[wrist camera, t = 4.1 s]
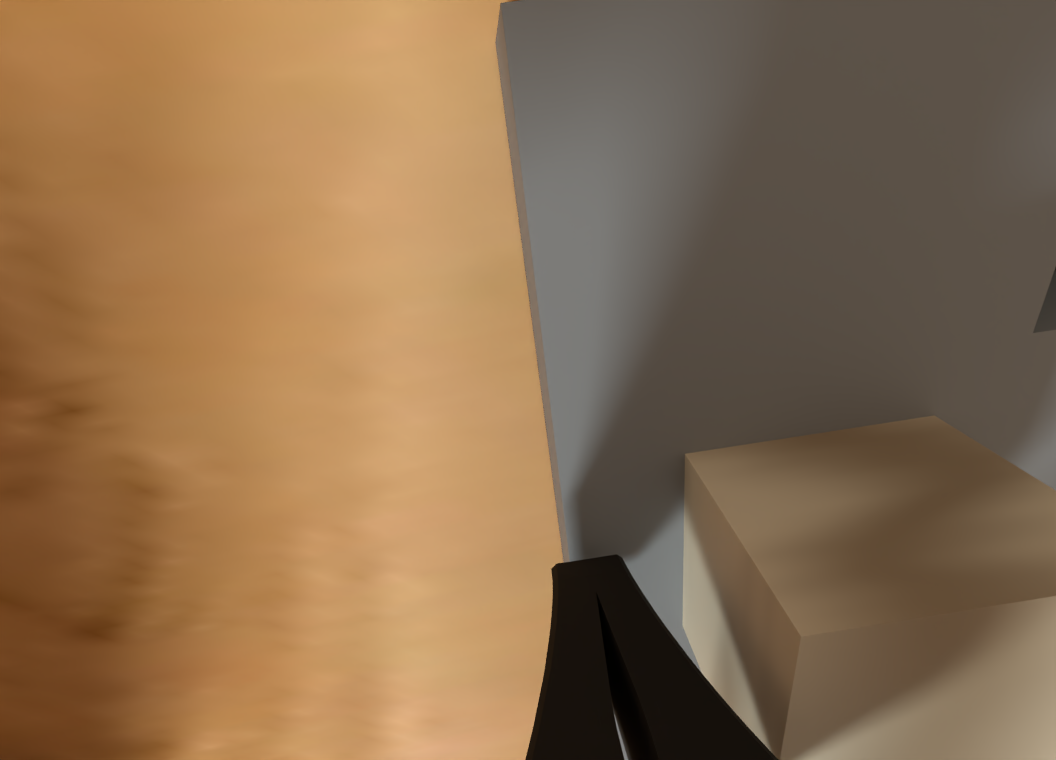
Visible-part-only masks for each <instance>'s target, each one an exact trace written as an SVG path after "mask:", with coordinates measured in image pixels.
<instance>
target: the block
mask: <svg viewBox="0 0 1056 760" xmlns="http://www.w3.org/2000/svg"><path fill="white" fill-rule="evenodd" d="M683 628H684V630H685V633H686V635H687V638H688V640H689V643H690V645H691V648H692V650H693V652H694V655H695V657H696V660H697V662H698V665H699V667H700V670H701V672H702V674H703V675H704V676H705V678H706V679H707V680H708V681H709V682H710V684H711V685H712V686H713V687H714V688H715V690H716V691H717V692H718V693H719V694H720V696H721V697H722V698H723V699H724V700H725V701H726V703H727V704H728V705H729V706H730V707H731V708H732V709H733V711H734V712H735V713H736V714H737V715H738V716H739V717H740V719H741V720H742V721H743V722H744V723H745V724H746V725H747V726H748V728H749V729H750V730H751V731H752V732H753V733H754V734H755V735H756V736H757V737H758V738H759V739H760V740H761V742H762V743H763V744H764V745H765V746H766V747H767V748H768V749H769V750H770V751H771V752H772V753H773V754H774V755H775V757H776V758H777V759H778V760H1056V490H1054V489H1052V488H1051V487H1049V486H1048V485H1046V484H1044V483H1043V482H1041V481H1040V480H1038V479H1036V478H1035V477H1033V476H1031V475H1030V474H1028V473H1027V472H1025V471H1023V470H1022V469H1020V468H1019V467H1017V466H1015V465H1014V464H1012V463H1010V462H1009V461H1007V460H1006V459H1004V458H1002V457H1001V456H999V455H997V454H996V453H994V452H993V451H991V450H989V449H988V448H986V447H985V446H983V445H981V444H980V443H978V442H976V441H975V440H973V439H972V438H970V437H968V436H967V435H965V434H964V433H962V432H960V431H959V430H957V429H955V428H954V427H952V426H951V425H949V424H947V423H946V422H944V421H943V420H941V419H939V418H938V417H936V416H928V417H921V418H915V419H908V420H902V421H895V422H889V423H882V424H876V425H869V426H863V427H856V428H850V429H843V430H837V431H830V432H824V433H817V434H811V435H804V436H798V437H791V438H785V439H778V440H772V441H765V442H759V443H752V444H746V445H739V446H733V447H726V448H720V449H713V450H707V451H700V452H694V453H687V454H685V484H684V556H683Z"/></svg>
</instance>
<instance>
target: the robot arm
mask: <svg viewBox="0 0 1056 760" xmlns="http://www.w3.org/2000/svg"><path fill="white" fill-rule="evenodd" d="M552 578H553V604H552V617H551V629H550V636H549V644H548V651H547V658H546V665H545V671H544V677H543V682H542V687H541V692H540V697H539V702H538V707H537V712H536V717H535V722H534V726H533V731H532V735H531V739H530V743H529V748H528V752H527V756H526V760H624V756H623V752H622V748H621V744H620V739H619V735H618V731H617V727H616V721H617V724H618V728H619V731H620V734H621V738H622V741H623V744H624V748H625V751H626V754H627V758H628V760H778V759H777V758H776V757H775V755H774V754H773V753H772V752H771V751H770V750H769V749H768V748H767V747H766V746H765V745H764V744H763V743H762V742H761V740H760V739H759V738H758V737H757V736H756V735H755V734H754V733H753V732H752V731H751V730H750V729H749V728H748V726H747V725H746V724H745V723H744V722H743V721H742V720H741V719H740V717H739V716H738V715H737V714H736V713H735V712H734V711H733V709H732V708H731V707H730V706H729V705H728V704H727V703H726V701H725V700H724V699H723V698H722V697H721V696H720V694H719V693H718V692H717V691H716V690H715V688H714V687H713V686H712V685H711V684H710V682H709V681H708V680H707V679H706V678H705V676H704V675H703V674H702V673H701V672H700V670H699V669H698V668H697V666H696V665H695V664H694V663H693V661H692V660H691V659H690V658H689V656H688V655H687V654H686V652H685V651H684V650H683V648H682V647H681V646H680V644H679V643H678V642H677V641H676V639H675V638H674V637H673V635H672V634H671V633H670V631H669V630H668V629H667V627H666V626H665V624H664V623H663V622H662V620H661V619H660V617H659V616H658V615H657V613H656V612H655V610H654V609H653V607H652V606H651V604H650V603H649V601H648V600H647V598H646V597H645V595H644V594H643V592H642V591H641V589H640V588H639V586H638V584H637V583H636V581H635V580H634V578H633V576H632V574H631V573H630V571H629V569H628V568H627V566H626V564H625V562H624V560H623V558H622V557H620V556H619V555H617V554H615V555H609V556H602V557H596V558H590V559H584V560H577V561H571V562H565V563H558V564H556V565H555V566H554V567H553V568H552ZM614 714H615V716H614ZM615 717H616V721H615Z"/></svg>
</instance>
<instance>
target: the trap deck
mask: <svg viewBox="0 0 1056 760" xmlns="http://www.w3.org/2000/svg"><path fill="white" fill-rule="evenodd" d="M496 49H497V57H498V65H499V72H500V80H501V88H502V95H503V103H504V110H505V118H506V126H507V133H508V141H509V149H510V156H511V164H512V172H513V179H514V187H515V194H516V202H517V210H518V217H519V225H520V233H521V240H522V248H523V255H524V263H525V271H526V278H527V286H528V294H529V301H530V309H531V316H532V324H533V332H534V339H535V347H536V355H537V362H538V370H539V378H540V385H541V393H542V400H543V408H544V416H545V423H546V431H547V439H548V446H549V454H550V461H551V469H552V477H553V484H554V492H555V500H556V507H557V515H558V522H559V530H560V538H561V545H562V553H563V561H564V563H565V562H571V561H577V560H584V559H590V558H596V557H602V556H609V555H615V554H617V555H619V556H620V557H622V558H623V560H624V562H625V564H626V566H627V568H628V569H629V571H630V573H631V574H632V576H633V578H634V580H635V581H636V583H637V584H638V586H639V588H640V589H641V591H642V592H643V594H644V595H645V597H646V598H647V600H648V601H649V603H650V604H651V606H652V607H653V609H654V610H655V612H656V613H657V615H658V616H659V617H660V619H661V620H662V622H663V623H664V624H665V626H666V627H667V629H668V630H669V631H670V633H671V634H672V635H673V637H674V638H675V639H676V641H677V642H678V643H679V644H680V646H681V647H682V648H683V650H684V651H685V652H686V654H687V655H688V656H689V658H690V659H691V660H692V661H693V663H694V664H695V665H696V666H697V668H698V669H699V670H700V667H699V665H698V662H697V660H696V657H695V655H694V652H693V650H692V648H691V645H690V643H689V640H688V638H687V635H686V633H685V630H684V628H683V556H684V484H685V454H687V453H694V452H700V451H707V450H713V449H720V448H726V447H733V446H739V445H746V444H752V443H759V442H765V441H772V440H778V439H785V438H791V437H798V436H804V435H811V434H817V433H824V432H830V431H837V430H843V429H850V428H856V427H863V426H869V425H876V424H882V423H889V422H895V421H902V420H908V419H915V418H921V417H928V416H936V417H938V418H939V419H941V420H943V421H944V422H946V423H947V424H949V425H951V426H952V427H954V428H955V429H957V430H959V431H960V432H962V433H964V434H965V435H967V436H968V437H970V438H972V439H973V440H975V441H976V442H978V443H980V444H981V445H983V446H985V447H986V448H988V449H989V450H991V451H993V452H994V453H996V454H997V455H999V456H1001V457H1002V458H1004V459H1006V460H1007V461H1009V462H1010V463H1012V464H1014V465H1015V466H1017V467H1019V468H1020V469H1022V470H1023V471H1025V472H1027V473H1028V474H1030V475H1031V476H1033V477H1035V478H1036V479H1038V480H1040V481H1041V482H1043V483H1044V484H1046V485H1048V486H1049V487H1051V488H1052V489H1054V490H1056V0H520V1H512V2H505V3H501V4H500V12H499V20H498V28H497V35H496ZM700 672H701V670H700ZM701 673H702V672H701ZM614 716H615V714H614ZM615 721H616V717H615ZM616 727H617V731H618V735H619V739H620V744H621V748H622V752H623V756H624V760H628V758H627V754H626V751H625V748H624V744H623V741H622V738H621V734H620V731H619V728H618V724H617V721H616Z"/></svg>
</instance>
